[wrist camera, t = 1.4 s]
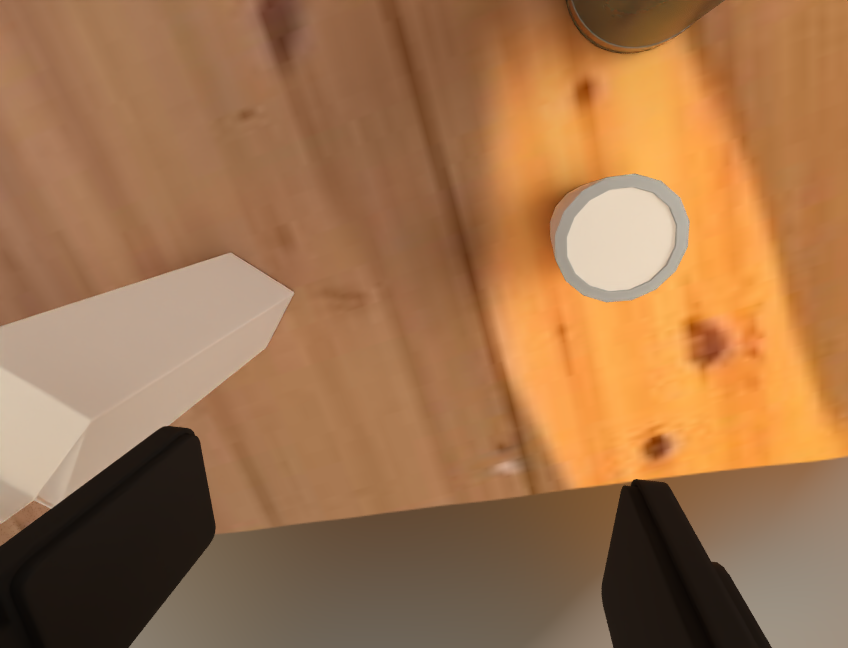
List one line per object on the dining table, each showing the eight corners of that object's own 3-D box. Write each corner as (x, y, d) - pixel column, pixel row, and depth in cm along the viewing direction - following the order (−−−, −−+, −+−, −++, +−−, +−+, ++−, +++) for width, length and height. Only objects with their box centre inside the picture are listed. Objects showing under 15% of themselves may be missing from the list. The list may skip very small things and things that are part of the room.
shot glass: (549, 169, 28) (566, 169, 22) (656, 176, 28) (708, 178, 21) (533, 269, 31) (544, 296, 24) (632, 279, 30) (671, 309, 23)
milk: (231, 251, 34) (-170, 372, 13) (296, 292, 34) (6, 472, 14) (205, 311, 36) (-174, 495, 15) (267, 349, 36) (-22, 579, 16)
